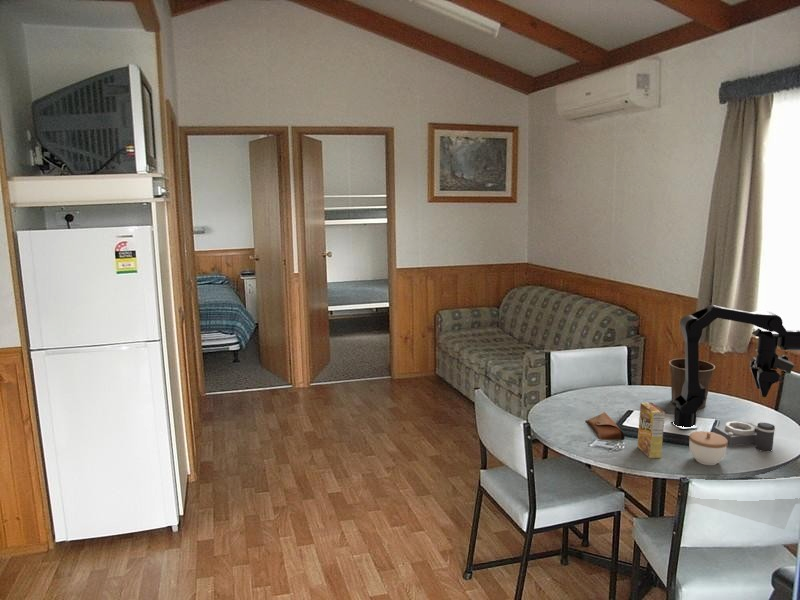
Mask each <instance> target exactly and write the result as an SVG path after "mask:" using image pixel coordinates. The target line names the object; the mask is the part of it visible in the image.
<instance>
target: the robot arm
mask: <svg viewBox="0 0 800 600" xmlns="http://www.w3.org/2000/svg"><path fill="white" fill-rule="evenodd" d="M716 319H723V320H727V321H732V322H737V323H743V324H749V325H752V326H755V327H758V328H757V329H756V330H753V332H751V334H752V335H753V336H755V337H756V338H758V339H757V347H756V348H755V354H756V355H755V356H756V357H751V358H750V359H749V368H750V371H751V374H752V377H753V379H754V384H755V386H756V388H757V389H758V390H759V391H760V394H761V397H762V398H766V397H767V396H768V394H769V391H770V390H771V388H772V386H773V385H774V384H775V383H776V384H777V383H778V382H780V381H781V374H780V373H779V372H778V371H777V370H778V369H779V370H782V371H783V372H786V373H787V374H791V373H792V371H793V370H794V368H795V363H793V362H792V361H791V360H789V357H788V356H787V355H785V354H782V355H780V356H779V354H778V353H777V349H778V347H779V348H780V350H781V351H799V352H800V330H798V329H794V330H787V329H786V327H784V325H783V319H782V318H781V317H780V316H779V315H778V314H776V313H773V312H771V311H762V310H760V311H746V310H741V309H735V308H730V307H724V306H720V305H719V306H718V305H715V304H709V305H708V306H706V307H704V308H702V309H700V310H697V311H695V312H693V313H691V314H686V315H684V316H683V317H681V318H680V321H679V326H680V331H681V335H682V336H683V337H682V338H683V341H684V358H685V382H684V384H683V387H682V392H681V395H679V396H678V397H677V398H675V399H674V402H675V404H674V405H675V408H674V414H673V421H670V424H671V423H673V422H674V424H675V425H677V426H682V427H683V426H684V427H691V426H693V425H695V426H696V424H697V415H698V414H697V412H698V410H699V407H701V406H702V405H703V403H704V400H706V398H705V388H704V387H703V386H702V385H701V384H700V383H699V360H700V357H699V356H700V355H699V351H700V350H699V343H700V340H701V338H702V336H703V330H704V329H705V328H707V327H708V326H709V325H711V324H712V323H713V322H714V321H715V320H716ZM762 329H763V330H762ZM773 332H775V333H773ZM706 401H707V400H706ZM675 425H674V426H675Z"/></svg>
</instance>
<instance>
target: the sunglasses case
mask: <svg viewBox="0 0 800 600" xmlns="http://www.w3.org/2000/svg"><path fill="white" fill-rule="evenodd" d="M585 423H586V424H588V425H589V427H591V428H592V430H593V431H594V433H595V434H596V435H597V437H598V439H599V440H609V441H610V440H615V441H616V440H624V439H625V433H624V432H623V430H622V429H621V428H620V427H619V426H618V425H617V423H616V422H615V421H614V420H613V419H612V418H611V417H610V416H609V415H608V414H607V413H606V412H605V411H603V412H602V413H601V414H599V415H596V416H594V417H591V418H589V419H587V420H585Z"/></svg>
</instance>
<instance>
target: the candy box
mask: <svg viewBox="0 0 800 600" xmlns="http://www.w3.org/2000/svg"><path fill="white" fill-rule="evenodd" d="M665 415H666V412H665V411H664V410H662V409H661V408H659V407H658V406H657V405H655V404H654V403H653V402H640V407H639V420H638V433H637V442H636V443H637V444H636V447H637V448H638V449H639V450H640V451H641V452H642V453H643V454H644V455H646V456H647V457H648V458H649V459H656V458H657V459H660V458H661V457H662V449H663V439H664V430H665V429H664V428H665V417H666V416H665Z"/></svg>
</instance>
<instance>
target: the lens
mask: <svg viewBox="0 0 800 600" xmlns="http://www.w3.org/2000/svg"><path fill="white" fill-rule="evenodd" d="M756 426H757V436H756V444H755V449H756V450H757V449H758V451H760V450H761V451H760V452H764V451H771V450H772V451H773V448H774V447H773V446H774V437H775V436H774V435H775V431H776V426H775V425H774V424H771V423H768V422H758V423H757V425H756ZM772 451H771V452H772Z"/></svg>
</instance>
